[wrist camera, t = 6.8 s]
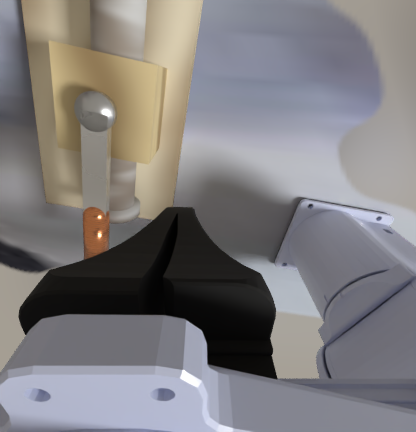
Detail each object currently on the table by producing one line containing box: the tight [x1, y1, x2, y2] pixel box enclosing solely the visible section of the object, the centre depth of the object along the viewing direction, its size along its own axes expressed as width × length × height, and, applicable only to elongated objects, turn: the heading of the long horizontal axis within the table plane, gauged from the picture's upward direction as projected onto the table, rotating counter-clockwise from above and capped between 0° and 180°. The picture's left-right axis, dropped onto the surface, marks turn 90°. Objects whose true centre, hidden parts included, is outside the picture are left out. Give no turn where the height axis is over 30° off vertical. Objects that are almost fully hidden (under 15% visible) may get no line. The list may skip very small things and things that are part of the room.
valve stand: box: [21, 0, 203, 224], centre depth 16 cm, size 11×19×6 cm, turn 169°
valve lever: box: [74, 91, 117, 260], centre depth 16 cm, size 12×2×2 cm, turn 168°
